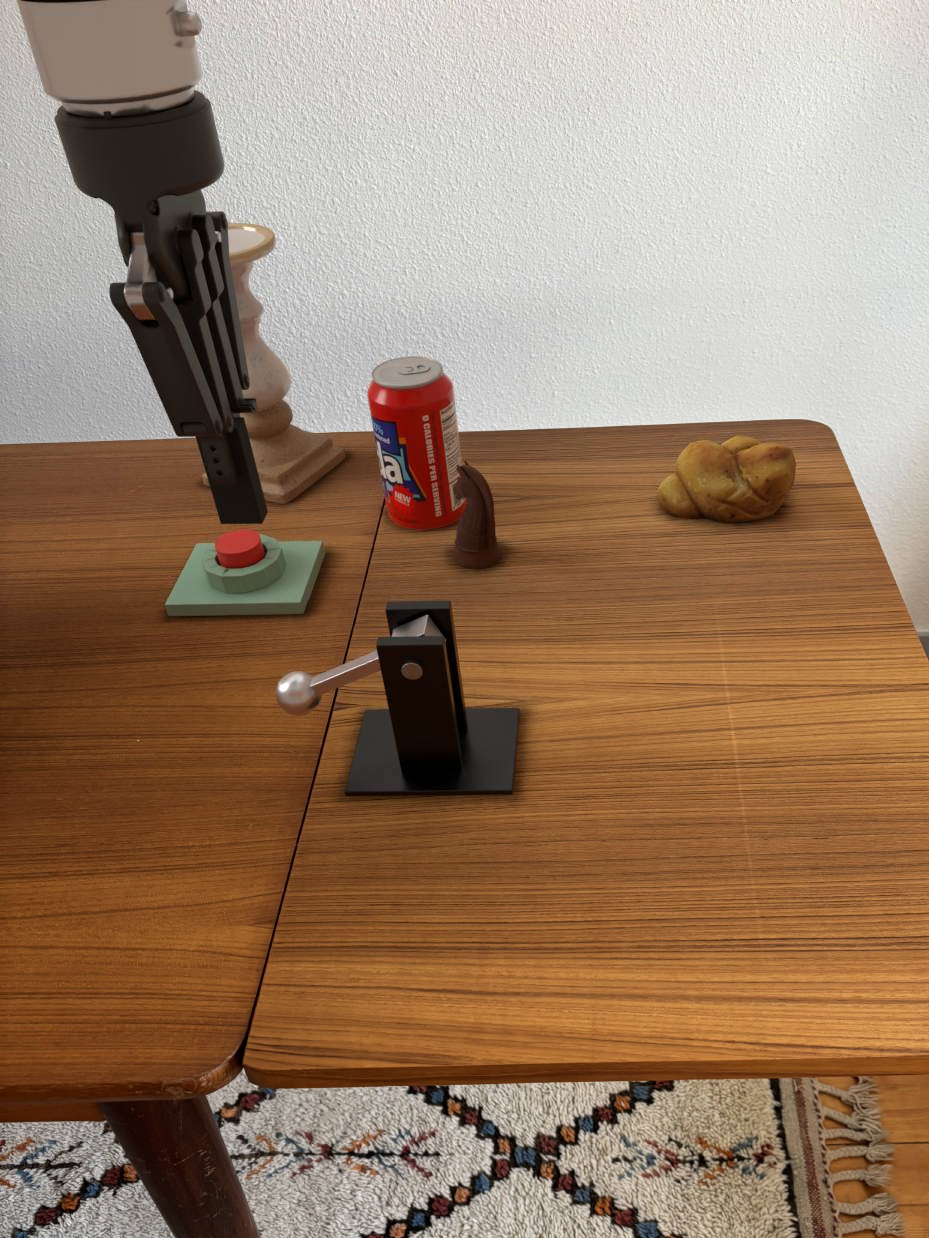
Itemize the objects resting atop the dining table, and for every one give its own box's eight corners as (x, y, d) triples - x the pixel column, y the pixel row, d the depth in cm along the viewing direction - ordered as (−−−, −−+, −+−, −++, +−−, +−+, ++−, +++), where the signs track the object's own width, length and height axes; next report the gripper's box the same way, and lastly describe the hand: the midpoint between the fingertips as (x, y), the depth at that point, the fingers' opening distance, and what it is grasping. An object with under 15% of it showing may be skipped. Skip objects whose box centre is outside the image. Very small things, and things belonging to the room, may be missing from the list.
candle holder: (268, 446, 117) (211, 215, 101) (349, 463, 114) (303, 227, 97) (203, 491, 110) (130, 251, 94) (287, 512, 106) (227, 265, 90)
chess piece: (480, 544, 100) (469, 447, 94) (516, 564, 98) (508, 465, 91) (443, 564, 98) (430, 467, 91) (480, 585, 95) (469, 485, 89)
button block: (171, 625, 93) (157, 587, 90) (203, 562, 100) (191, 526, 97) (305, 622, 92) (295, 584, 90) (327, 560, 100) (318, 523, 97)
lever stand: (347, 805, 76) (311, 665, 67) (367, 722, 82) (337, 585, 73) (513, 804, 75) (499, 662, 66) (520, 720, 82) (508, 582, 73)
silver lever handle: (289, 731, 75) (261, 700, 73) (299, 701, 77) (271, 671, 75) (445, 668, 70) (419, 633, 68) (450, 639, 73) (425, 605, 71)
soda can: (474, 529, 102) (457, 380, 92) (394, 543, 101) (368, 393, 91) (460, 491, 108) (442, 346, 98) (384, 503, 107) (359, 358, 97)
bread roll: (656, 534, 101) (658, 457, 95) (656, 483, 108) (657, 409, 102) (792, 533, 100) (802, 455, 94) (783, 483, 107) (791, 407, 101)
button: (214, 570, 92) (208, 553, 91) (226, 546, 95) (221, 529, 94) (259, 569, 92) (254, 552, 91) (269, 545, 95) (265, 528, 94)
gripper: (161, 126, 47) (277, 573, 63) (239, 66, 56) (322, 468, 72) (-2, 131, 47) (155, 574, 63) (103, 70, 57) (216, 469, 73)
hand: (244, 517), depth 68 cm, fingers closed
